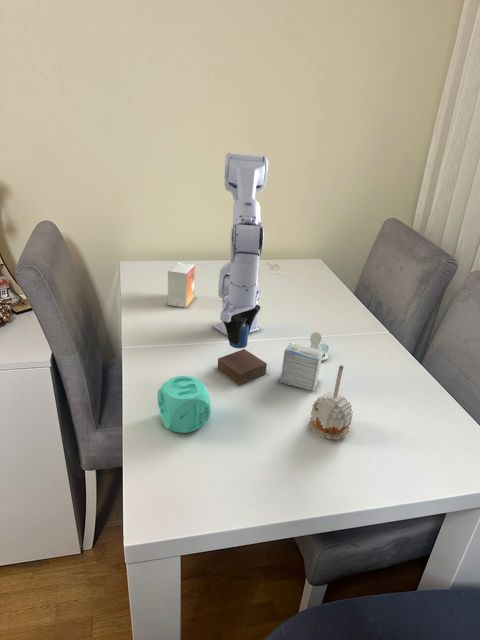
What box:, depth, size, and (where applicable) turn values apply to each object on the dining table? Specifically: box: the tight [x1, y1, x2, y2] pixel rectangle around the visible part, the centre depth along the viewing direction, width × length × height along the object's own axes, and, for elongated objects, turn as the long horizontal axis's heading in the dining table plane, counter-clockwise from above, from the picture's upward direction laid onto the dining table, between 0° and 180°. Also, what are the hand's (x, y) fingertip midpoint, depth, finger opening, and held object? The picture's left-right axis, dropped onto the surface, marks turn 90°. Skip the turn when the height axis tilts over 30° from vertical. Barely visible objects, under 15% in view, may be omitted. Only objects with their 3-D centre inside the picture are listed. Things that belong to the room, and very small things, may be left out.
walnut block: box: [216, 348, 268, 386], centre depth 113 cm, size 8×8×3 cm
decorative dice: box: [157, 375, 212, 434], centre depth 94 cm, size 8×8×8 cm
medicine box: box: [280, 342, 323, 392], centre depth 110 cm, size 8×4×9 cm, turn 71°
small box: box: [167, 261, 196, 308], centre depth 141 cm, size 8×6×10 cm
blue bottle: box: [228, 323, 249, 349], centre depth 108 cm, size 4×4×6 cm
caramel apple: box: [308, 364, 354, 440], centre depth 95 cm, size 8×8×15 cm
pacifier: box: [309, 331, 329, 362], centre depth 121 cm, size 7×6×6 cm
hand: (238, 338), depth 109 cm, fingers closed on blue bottle, 4 cm apart
